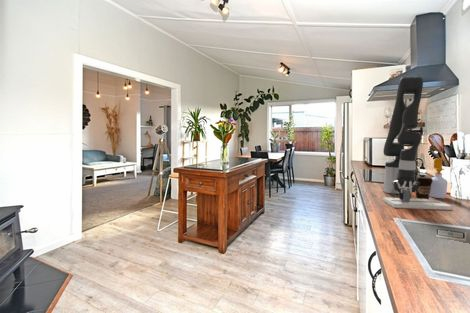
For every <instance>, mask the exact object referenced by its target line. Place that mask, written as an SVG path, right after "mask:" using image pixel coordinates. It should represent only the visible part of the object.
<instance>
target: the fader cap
mask: <svg viewBox="0 0 470 313" xmlns="http://www.w3.org/2000/svg"><path fill="white" fill-rule="evenodd" d="M410 194H411V195H412V193H411V191H410V190H408V189H407V188H405V189H404V190H403V199H400V200H402V201H407V202H410Z"/></svg>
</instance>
